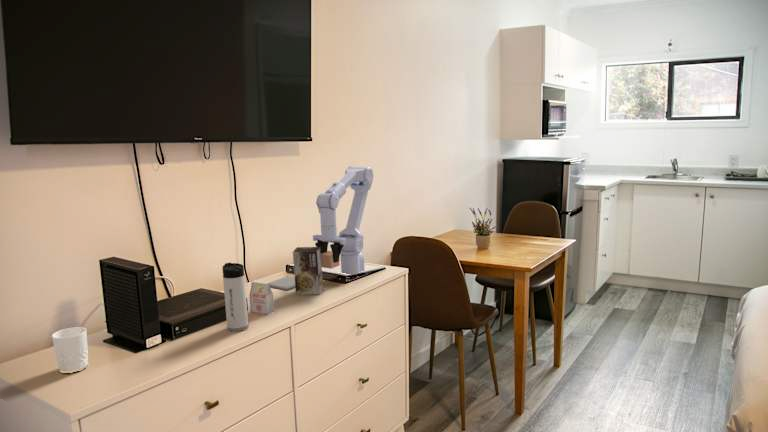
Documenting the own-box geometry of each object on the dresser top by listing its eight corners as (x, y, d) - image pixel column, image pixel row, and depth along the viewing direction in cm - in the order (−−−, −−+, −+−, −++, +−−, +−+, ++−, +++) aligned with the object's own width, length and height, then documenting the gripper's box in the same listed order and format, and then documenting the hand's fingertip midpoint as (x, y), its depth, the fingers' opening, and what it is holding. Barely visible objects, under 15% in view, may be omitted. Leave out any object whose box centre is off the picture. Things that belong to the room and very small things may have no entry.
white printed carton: (257, 309, 192) (255, 280, 190) (274, 311, 189) (272, 282, 187) (250, 312, 189) (248, 283, 187) (267, 315, 186) (265, 285, 184)
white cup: (76, 360, 155) (71, 325, 153) (97, 364, 152) (93, 328, 150) (49, 372, 148) (44, 336, 146) (71, 377, 145) (66, 340, 143)
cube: (329, 263, 218) (328, 250, 217) (339, 265, 215) (339, 252, 214) (320, 266, 214) (320, 253, 213) (331, 268, 211) (330, 255, 210)
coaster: (287, 277, 227) (287, 276, 227) (309, 282, 220) (309, 280, 220) (265, 285, 218) (264, 283, 218) (287, 290, 211) (287, 288, 211)
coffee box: (323, 289, 211) (321, 246, 208) (319, 294, 205) (317, 250, 202) (299, 289, 212) (296, 246, 209) (295, 294, 206) (292, 251, 203)
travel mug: (240, 322, 180) (236, 260, 176) (252, 327, 175) (247, 264, 172) (222, 328, 176) (217, 264, 172) (234, 333, 171) (228, 268, 167)
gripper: (306, 225, 212) (308, 261, 215) (336, 229, 204) (338, 266, 207) (319, 222, 218) (321, 256, 220) (349, 225, 210) (350, 261, 212)
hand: (330, 261), depth 214 cm, fingers closed on cube, 5 cm apart
